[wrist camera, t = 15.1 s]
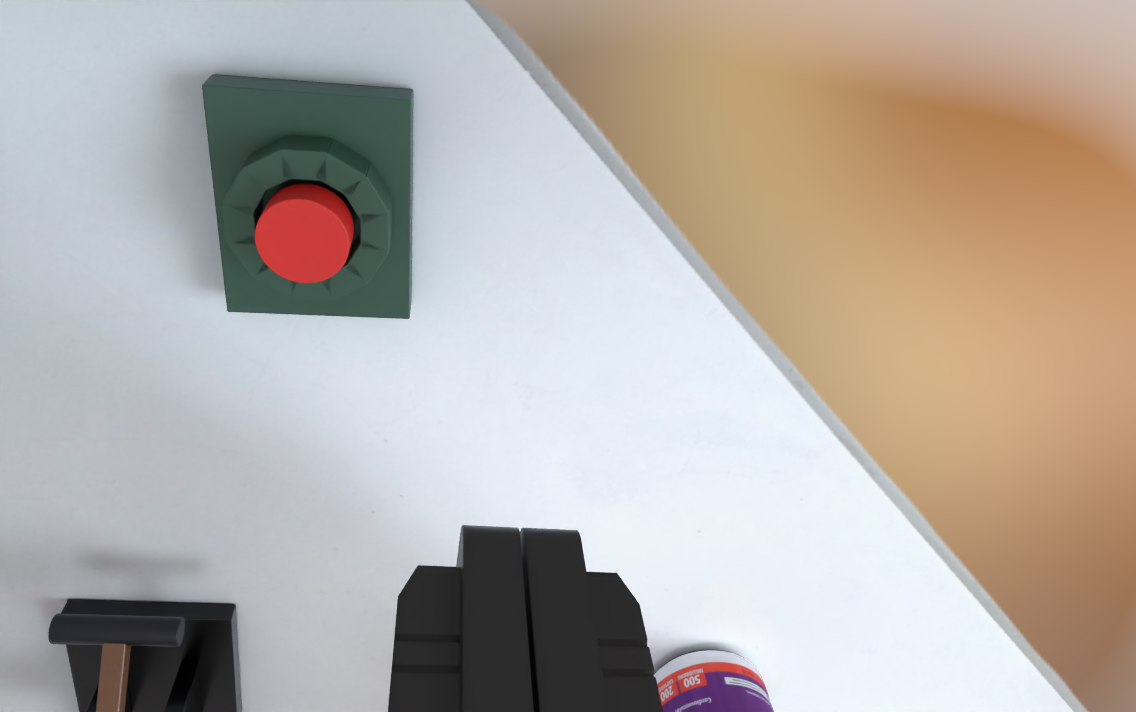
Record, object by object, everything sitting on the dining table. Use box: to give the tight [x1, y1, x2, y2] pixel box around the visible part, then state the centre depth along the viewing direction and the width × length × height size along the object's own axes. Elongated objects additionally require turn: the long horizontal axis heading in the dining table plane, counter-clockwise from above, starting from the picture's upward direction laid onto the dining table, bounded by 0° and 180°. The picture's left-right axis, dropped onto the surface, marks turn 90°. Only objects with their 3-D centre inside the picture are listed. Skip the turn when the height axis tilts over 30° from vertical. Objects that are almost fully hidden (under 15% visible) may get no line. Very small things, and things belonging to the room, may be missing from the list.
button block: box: [202, 75, 413, 319], centre depth 37 cm, size 10×8×4 cm
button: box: [255, 183, 354, 283], centre depth 35 cm, size 4×4×2 cm
